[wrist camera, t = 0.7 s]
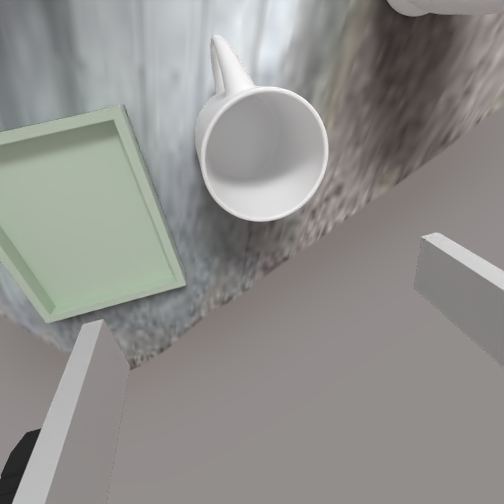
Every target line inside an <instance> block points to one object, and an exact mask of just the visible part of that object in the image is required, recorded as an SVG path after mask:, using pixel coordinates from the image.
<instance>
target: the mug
mask: <svg viewBox="0 0 504 504" xmlns="http://www.w3.org/2000/svg"><path fill="white" fill-rule="evenodd" d="M211 63H212V70H213V77H214V84H215V92H216V94H215V95H214V96H213V97H211V98H210V99H209V100H208V101H207V103H206V104H205V105H204V106H203V108H202V110H201V111H200V114H199V116H198V119H197V122H196V127H195V145H196V150H197V154H198V159H199V163H200V167H201V171H202V176H203V179H204V182H205V185H206V187H207V189H208V191H209V193H210V194H211V196H212V197H213V198H214V200H215V201H216V202H217V203H218V204H219V205H220V206H221V207H222V208H223V209H224V210H226V211H227V212H229V213H230V214H232V215H234V216H236V217H238V218H241V219H244V220H249V221H256V222H265V221H272V220H277V219H280V218H283V217H285V216H288V215H290V214H292V213H293V212H295V211H296V210H298V209H299V208H300V207H302V206H303V205H304V204H305V203H306V202H307V201H308V200H309V199H310V198H311V197H312V196H313V194H314V193H315V191H316V190H317V188H318V187H319V185H320V183H321V181H322V179H323V176H324V173H325V170H326V166H327V161H328V139H327V134H326V130H325V127H324V125H323V122H322V120H321V118H320V117H319V115H318V113H317V112H316V110H315V109H314V108H313V107H312V106H311V105H310V104H309V103H308V102H307V101H306V100H305V99H304V98H302V97H301V96H299V95H298V94H296V93H294V92H292V91H289V90H286V89H283V88H277V87H262V86H255V85H254V83H253V82H252V80H251V78H250V77H249V75H248V73H247V72H246V70H245V68H244V66H243V65H242V63H241V61H240V60H239V58H238V57H237V55H236V54H235V52H234V51H233V49H232V48H231V47H230V45H229V44H228V43H227V42H226V41H225V40H224V39H223V38H222V37H221V36H219V35H214V36H212V39H211Z"/></svg>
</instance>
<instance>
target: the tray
mask: <svg viewBox="0 0 504 504" xmlns="http://www.w3.org/2000/svg"><path fill="white" fill-rule="evenodd" d="M0 261H1V262H2V264H3V265H4V266H5V268H6V269H7V270H8V272H9V273H10V274H11V276H12V277H13V279H14V280H15V281H16V283H17V284H18V285H19V287H20V288H21V289H22V291H23V292H24V294H25V295H26V296H27V298H28V299H29V300H30V302H31V303H32V304H33V306H34V307H35V308H36V310H37V311H38V313H39V314H40V315H41V317H42V318H43V319H44V321H45V322H46V323H51V322H54V321H58V320H62V319H65V318H69V317H73V316H76V315H80V314H84V313H87V312H91V311H94V310H98V309H102V308H105V307H109V306H113V305H116V304H120V303H124V302H127V301H131V300H135V299H138V298H142V297H145V296H149V295H153V294H156V293H160V292H164V291H167V290H171V289H175V288H178V287H182V286H186V273H185V270H184V267H183V264H182V262H181V259H180V256H179V253H178V251H177V248H176V245H175V243H174V240H173V237H172V234H171V232H170V229H169V226H168V224H167V221H166V218H165V215H164V213H163V210H162V207H161V204H160V202H159V199H158V196H157V194H156V191H155V188H154V185H153V183H152V180H151V177H150V174H149V172H148V169H147V166H146V164H145V161H144V158H143V155H142V153H141V150H140V147H139V145H138V142H137V139H136V136H135V134H134V131H133V128H132V125H131V123H130V120H129V117H128V115H127V112H126V109H125V106H124V105H120V106H115V107H111V108H106V109H102V110H97V111H93V112H88V113H83V114H79V115H74V116H70V117H65V118H61V119H56V120H52V121H47V122H43V123H38V124H34V125H29V126H25V127H20V128H16V129H11V130H7V131H2V132H0Z"/></svg>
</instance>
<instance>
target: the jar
mask: <svg viewBox="0 0 504 504" xmlns="http://www.w3.org/2000/svg"><path fill="white" fill-rule="evenodd" d="M387 2H388V3H389V4H390V6H391V7H392V8H393V9H394V10H396V11H397V12H399V13H400V14H403V15H406V16H413V17H414V16H421V15H425V14H427V13H429V12H431V13H435V14H443V15H455V14H463V15H483V14H493V13H499V12H504V0H387Z"/></svg>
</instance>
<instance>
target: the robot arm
mask: <svg viewBox="0 0 504 504" xmlns="http://www.w3.org/2000/svg"><path fill="white" fill-rule="evenodd" d="M414 289H415V290H416V291H418V292H419V293H420V294H421V295H422V296H423V297H424V298H425V299H427V300H428V301H429V302H430V303H431V304H432V305H433V306H434V307H436V308H437V309H438V310H439V311H440V312H441V313H443V315H444V316H446V317H447V318H448V319H449V320H450V321H451V322H452V323H453V324H455V325H456V326H457V327H458V328H459V329H460V330H461V331H462V332H464V333H465V334H466V335H467V336H468V337H469V338H470V339H471V340H473V341H474V342H475V343H476V344H477V345H478V346H479V347H480V348H482V349H483V350H484V351H485V352H486V353H487V354H488V355H489V356H491V357H492V358H493V359H494V360H495V361H496V362H497V363H498V364H499V365H501V366H502V367H503V368H504V271H502V270H501V269H499V268H497V267H496V266H494V265H492V264H491V263H489V262H487V261H486V260H484V259H482V258H480V257H479V256H477V255H475V254H474V253H472V252H470V251H468V250H467V249H465V248H463V247H462V246H460V245H458V244H457V243H455V242H453V241H452V240H450V239H448V238H447V237H445V236H443V235H442V234H440V233H433V234H429V235H426V236H422V237H421V242H420V249H419V256H418V263H417V270H416V277H415V283H414ZM129 370H130V365H129V363H128V362H127V360H126V358H125V356H124V355H123V353H122V351H121V349H120V348H119V346H118V344H117V342H116V341H115V339H114V337H113V335H112V333H111V332H110V330H109V328H108V326H107V325H106V323H105V321H104V319H102V320H98V321H94V322H90V323H86V324H83V325H82V327H81V330H80V332H79V335H78V338H77V340H76V343H75V345H74V348H73V350H72V353H71V355H70V358H69V360H68V363H67V365H66V368H65V371H64V373H63V376H62V378H61V381H60V383H59V386H58V389H57V391H56V394H55V396H54V398H53V401H52V404H51V406H50V409H49V411H48V414H47V416H46V419H45V421H44V424H43V426H42V428H41V429H38V430H34V431H31V432H27V433H26V434H25V435H24V436H23V438H22V439H21V440H20V442H19V443H18V444H17V446H16V447H15V448H14V450H13V451H12V452H11V454H10V456H9V458H8V460H7V462H6V465H5V467H4V469H3V472H2V474H1V479H0V504H107V499H108V493H109V487H110V481H111V475H112V469H113V464H114V458H115V452H116V446H117V440H118V434H119V429H120V422H121V417H122V411H123V405H124V399H125V394H126V387H127V381H128V376H129Z"/></svg>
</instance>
